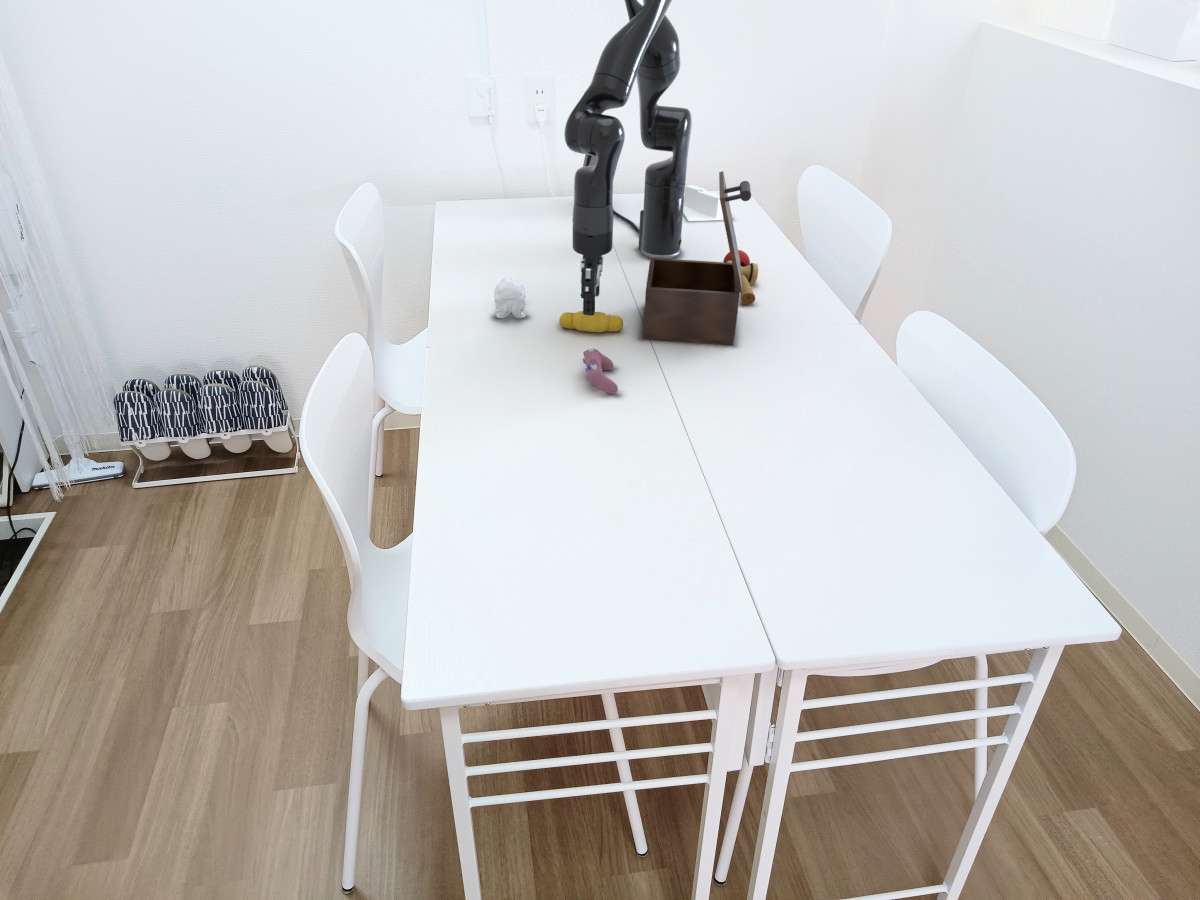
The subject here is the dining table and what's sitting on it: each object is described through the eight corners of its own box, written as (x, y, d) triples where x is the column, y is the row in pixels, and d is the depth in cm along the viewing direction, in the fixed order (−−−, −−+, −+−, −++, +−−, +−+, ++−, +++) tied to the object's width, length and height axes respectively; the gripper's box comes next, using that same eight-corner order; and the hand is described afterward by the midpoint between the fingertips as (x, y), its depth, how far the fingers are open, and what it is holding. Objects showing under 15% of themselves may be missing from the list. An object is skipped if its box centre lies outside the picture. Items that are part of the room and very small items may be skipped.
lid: (719, 198, 154) (750, 191, 153) (719, 172, 166) (747, 165, 165) (737, 292, 164) (766, 287, 163) (736, 261, 176) (762, 255, 175)
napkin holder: (731, 219, 226) (733, 198, 222) (688, 221, 224) (690, 199, 221) (715, 199, 238) (717, 178, 234) (675, 201, 236) (676, 180, 233)
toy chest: (642, 339, 172) (645, 288, 165) (647, 306, 184) (650, 257, 177) (733, 345, 170) (739, 294, 164) (732, 311, 182) (737, 263, 176)
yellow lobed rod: (557, 333, 173) (557, 314, 171) (560, 323, 176) (560, 305, 174) (621, 337, 172) (622, 319, 170) (623, 327, 175) (624, 309, 173)
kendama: (767, 309, 186) (752, 264, 199) (767, 285, 182) (751, 240, 195) (732, 315, 187) (718, 270, 200) (730, 291, 182) (717, 246, 195)
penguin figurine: (492, 283, 171) (496, 263, 181) (494, 323, 175) (497, 302, 185) (524, 283, 171) (526, 264, 181) (525, 323, 175) (527, 302, 186)
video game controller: (593, 375, 163) (576, 346, 159) (615, 365, 162) (599, 336, 158) (597, 403, 155) (580, 373, 151) (620, 393, 154) (603, 363, 150)
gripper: (577, 210, 167) (576, 288, 177) (567, 238, 156) (567, 319, 165) (616, 213, 167) (613, 290, 176) (609, 240, 155) (606, 322, 165)
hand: (591, 304), depth 171 cm, fingers open, 8 cm apart
